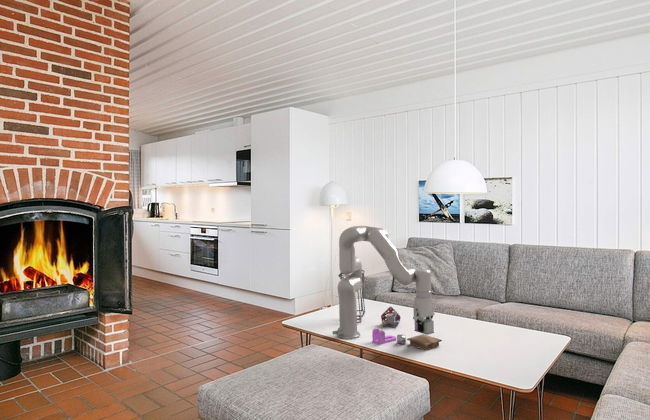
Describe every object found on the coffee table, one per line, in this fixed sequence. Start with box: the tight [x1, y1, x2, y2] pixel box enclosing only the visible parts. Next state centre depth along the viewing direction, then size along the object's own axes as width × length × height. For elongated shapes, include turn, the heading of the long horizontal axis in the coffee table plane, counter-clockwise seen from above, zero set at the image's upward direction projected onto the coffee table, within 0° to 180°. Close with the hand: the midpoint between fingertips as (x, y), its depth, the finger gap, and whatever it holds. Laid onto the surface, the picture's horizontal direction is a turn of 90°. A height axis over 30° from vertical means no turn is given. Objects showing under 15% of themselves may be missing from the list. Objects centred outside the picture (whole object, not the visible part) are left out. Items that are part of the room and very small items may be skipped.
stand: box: [406, 333, 443, 351], centre depth 210 cm, size 12×12×3 cm
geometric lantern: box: [338, 269, 366, 324], centre depth 257 cm, size 16×16×35 cm
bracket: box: [371, 327, 397, 346], centre depth 218 cm, size 13×6×7 cm, turn 124°
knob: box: [396, 334, 407, 346], centre depth 214 cm, size 4×4×4 cm
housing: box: [413, 318, 435, 336], centre depth 210 cm, size 9×5×6 cm, turn 35°
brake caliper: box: [380, 306, 401, 328], centre depth 245 cm, size 11×11×12 cm
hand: (424, 330), depth 210 cm, fingers closed on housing, 5 cm apart
